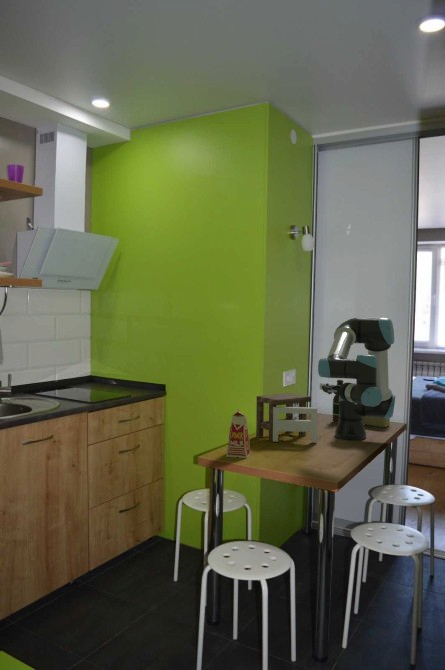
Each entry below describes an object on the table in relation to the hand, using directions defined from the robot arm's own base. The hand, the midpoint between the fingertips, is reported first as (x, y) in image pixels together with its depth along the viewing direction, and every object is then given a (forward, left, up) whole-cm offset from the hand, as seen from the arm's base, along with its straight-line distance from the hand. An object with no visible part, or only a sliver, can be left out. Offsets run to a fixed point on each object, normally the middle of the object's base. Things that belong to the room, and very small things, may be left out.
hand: (321, 386), depth 234 cm
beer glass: (+56, -37, -29) cm, 73 cm away
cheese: (+27, -65, -29) cm, 76 cm away
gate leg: (+17, 0, -28) cm, 33 cm away
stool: (+29, -4, -28) cm, 41 cm away
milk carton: (+13, +36, -29) cm, 48 cm away
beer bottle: (+41, -57, -29) cm, 76 cm away
